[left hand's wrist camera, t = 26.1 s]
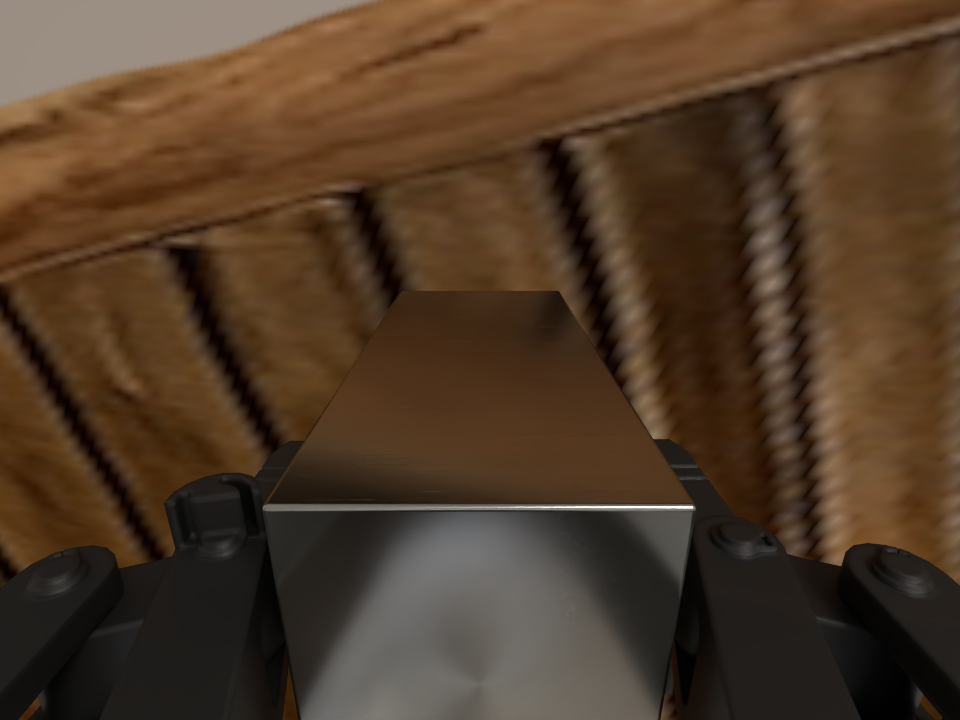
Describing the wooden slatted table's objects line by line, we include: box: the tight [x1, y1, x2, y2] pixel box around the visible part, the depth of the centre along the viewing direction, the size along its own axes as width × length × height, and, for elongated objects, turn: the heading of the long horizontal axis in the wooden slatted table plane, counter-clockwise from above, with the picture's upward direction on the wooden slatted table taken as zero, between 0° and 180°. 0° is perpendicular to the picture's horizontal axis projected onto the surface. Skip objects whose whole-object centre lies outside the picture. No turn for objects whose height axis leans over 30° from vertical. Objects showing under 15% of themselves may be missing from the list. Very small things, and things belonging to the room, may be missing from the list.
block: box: [262, 291, 696, 720], centre depth 11 cm, size 5×5×10 cm
